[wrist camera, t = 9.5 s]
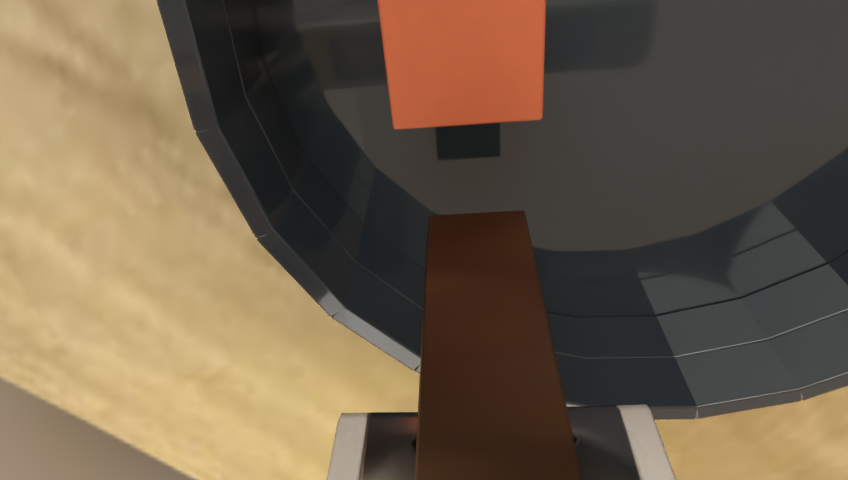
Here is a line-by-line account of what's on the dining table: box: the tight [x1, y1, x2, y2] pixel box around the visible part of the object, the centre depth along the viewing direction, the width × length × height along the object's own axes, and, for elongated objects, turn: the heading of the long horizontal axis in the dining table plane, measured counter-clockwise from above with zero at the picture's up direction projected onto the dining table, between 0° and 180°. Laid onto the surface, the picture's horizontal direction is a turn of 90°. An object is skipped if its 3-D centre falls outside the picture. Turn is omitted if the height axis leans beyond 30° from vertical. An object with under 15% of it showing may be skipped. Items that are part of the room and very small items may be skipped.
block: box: [377, 0, 546, 130], centre depth 14 cm, size 4×4×4 cm
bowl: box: [157, 0, 848, 419], centre depth 14 cm, size 23×23×5 cm
